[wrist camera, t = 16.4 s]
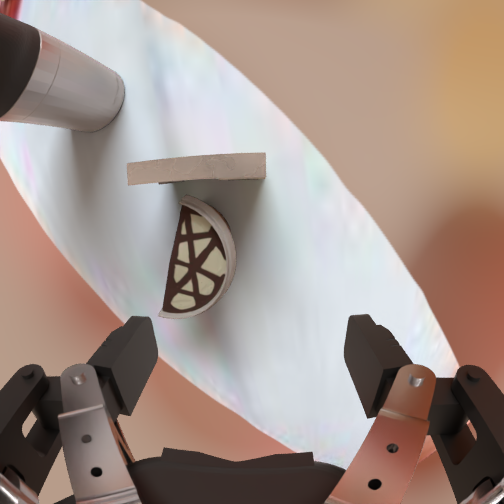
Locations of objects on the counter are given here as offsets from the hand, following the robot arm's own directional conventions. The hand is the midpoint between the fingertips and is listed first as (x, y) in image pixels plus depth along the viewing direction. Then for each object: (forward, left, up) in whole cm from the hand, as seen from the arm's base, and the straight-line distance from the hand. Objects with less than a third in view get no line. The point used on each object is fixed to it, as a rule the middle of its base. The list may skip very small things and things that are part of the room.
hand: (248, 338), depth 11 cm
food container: (-5, -2, -24) cm, 24 cm away
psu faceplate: (-4, +7, -24) cm, 25 cm away
